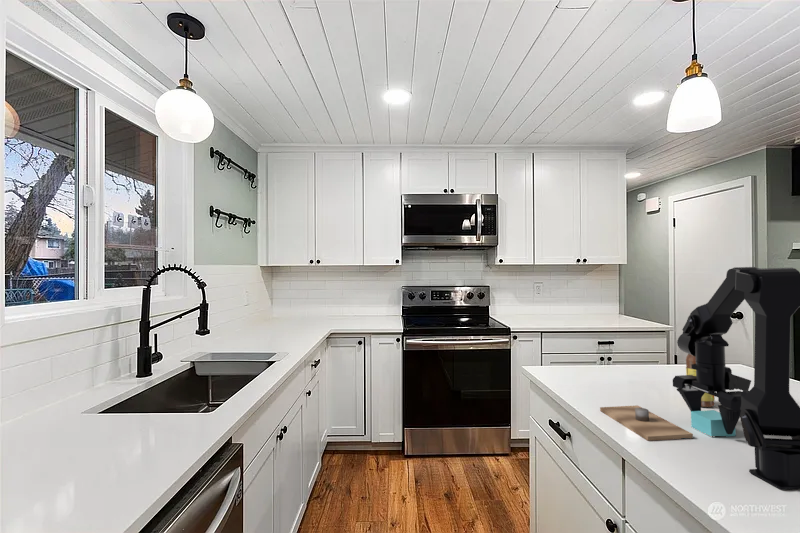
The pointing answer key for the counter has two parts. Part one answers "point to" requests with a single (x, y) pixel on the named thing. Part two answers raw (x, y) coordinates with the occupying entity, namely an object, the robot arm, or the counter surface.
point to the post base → (645, 423)
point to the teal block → (709, 423)
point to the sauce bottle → (707, 398)
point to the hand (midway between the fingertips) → (712, 426)
